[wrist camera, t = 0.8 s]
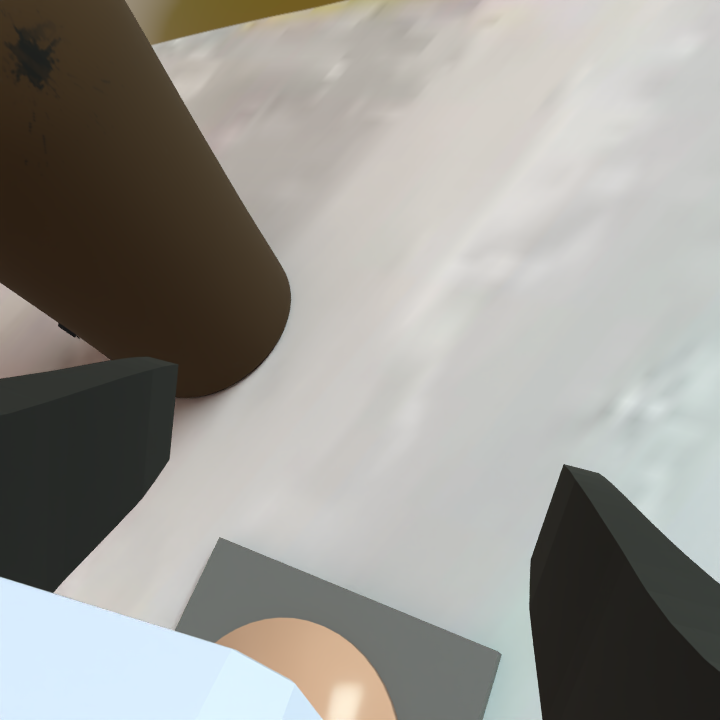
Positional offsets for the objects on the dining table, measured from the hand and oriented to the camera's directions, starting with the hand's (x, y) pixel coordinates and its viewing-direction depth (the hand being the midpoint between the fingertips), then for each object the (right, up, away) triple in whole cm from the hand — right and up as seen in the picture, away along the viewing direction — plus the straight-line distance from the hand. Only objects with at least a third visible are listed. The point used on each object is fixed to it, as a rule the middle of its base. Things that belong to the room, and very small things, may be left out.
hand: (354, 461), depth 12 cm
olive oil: (-8, +4, +23) cm, 24 cm away
